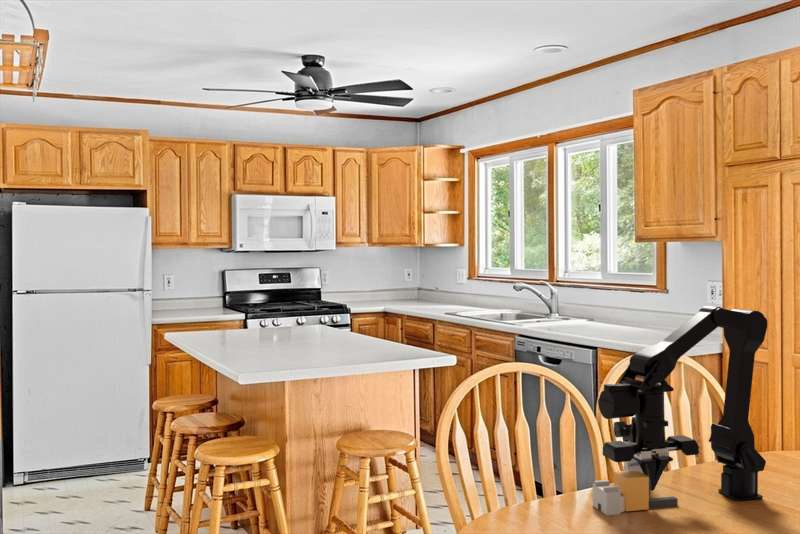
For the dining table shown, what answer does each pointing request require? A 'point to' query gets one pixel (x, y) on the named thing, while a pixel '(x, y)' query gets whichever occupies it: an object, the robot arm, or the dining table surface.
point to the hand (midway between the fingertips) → (651, 490)
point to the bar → (659, 502)
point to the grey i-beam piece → (607, 497)
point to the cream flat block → (622, 503)
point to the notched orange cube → (633, 489)
